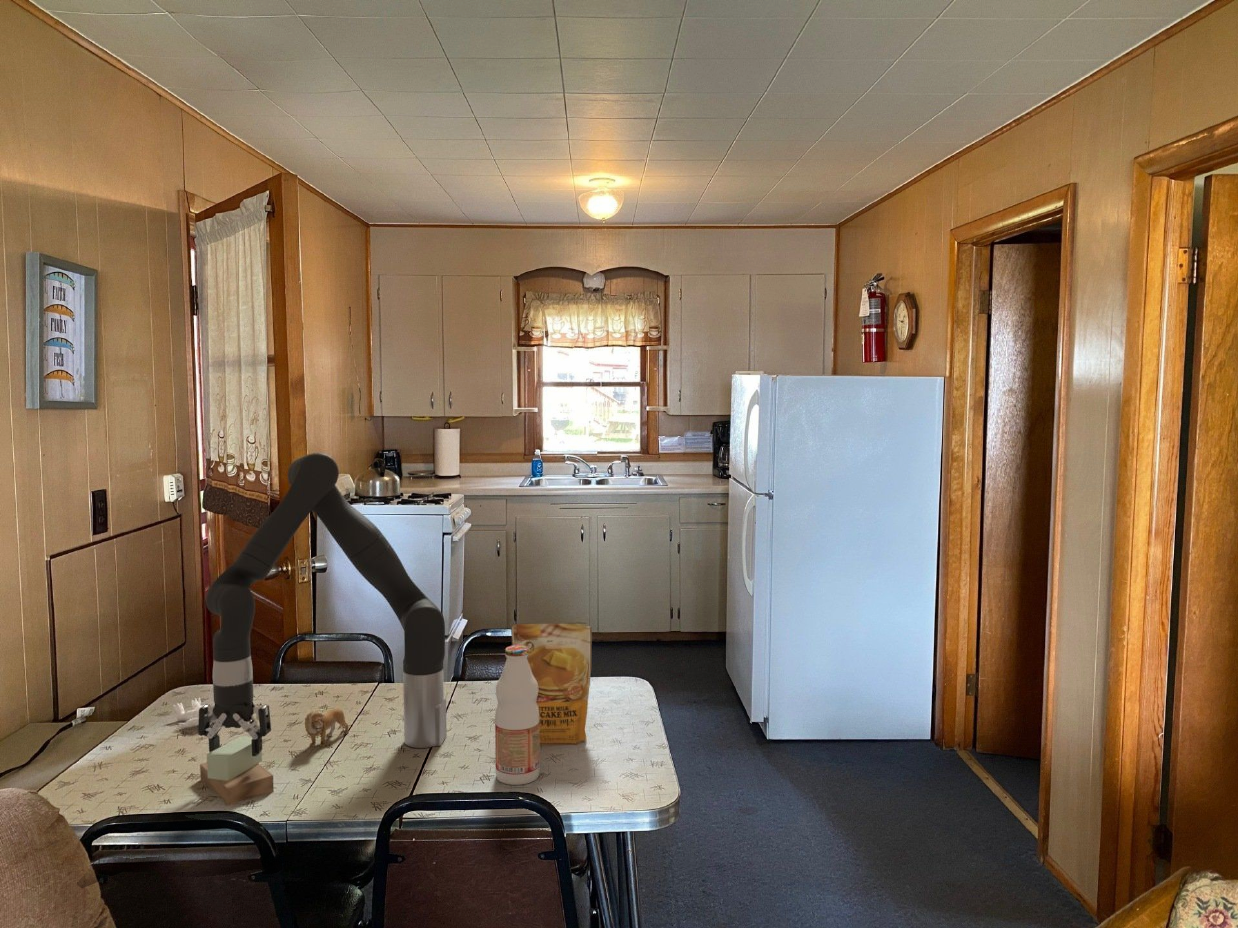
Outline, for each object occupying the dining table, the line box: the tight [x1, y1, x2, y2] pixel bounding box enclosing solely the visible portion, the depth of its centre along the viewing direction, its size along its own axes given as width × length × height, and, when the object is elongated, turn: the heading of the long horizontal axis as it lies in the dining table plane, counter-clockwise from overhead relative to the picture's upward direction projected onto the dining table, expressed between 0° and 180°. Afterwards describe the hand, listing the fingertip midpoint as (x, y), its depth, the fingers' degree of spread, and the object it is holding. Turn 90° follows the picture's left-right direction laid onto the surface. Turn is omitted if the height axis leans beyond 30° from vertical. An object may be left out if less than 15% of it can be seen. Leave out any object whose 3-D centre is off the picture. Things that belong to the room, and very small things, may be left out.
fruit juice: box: [494, 645, 541, 786], centre depth 184 cm, size 9×9×28 cm
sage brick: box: [206, 735, 263, 781], centre depth 180 cm, size 5×10×5 cm, turn 163°
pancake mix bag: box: [510, 621, 593, 746], centre depth 203 cm, size 7×19×28 cm, turn 91°
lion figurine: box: [304, 708, 349, 748], centre depth 203 cm, size 15×5×9 cm, turn 167°
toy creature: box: [172, 697, 218, 731], centre depth 215 cm, size 12×6×12 cm
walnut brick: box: [199, 761, 275, 806], centre depth 180 cm, size 9×16×4 cm, turn 44°
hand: (235, 754), depth 179 cm, fingers open, 8 cm apart
